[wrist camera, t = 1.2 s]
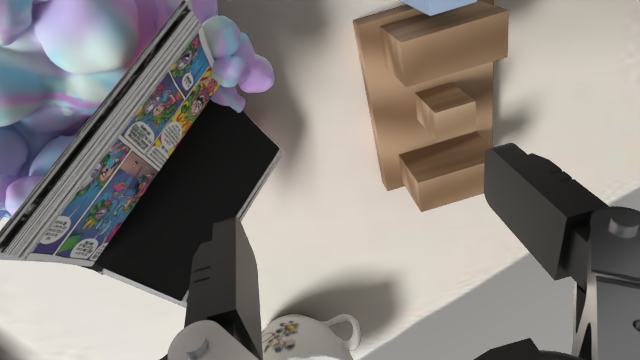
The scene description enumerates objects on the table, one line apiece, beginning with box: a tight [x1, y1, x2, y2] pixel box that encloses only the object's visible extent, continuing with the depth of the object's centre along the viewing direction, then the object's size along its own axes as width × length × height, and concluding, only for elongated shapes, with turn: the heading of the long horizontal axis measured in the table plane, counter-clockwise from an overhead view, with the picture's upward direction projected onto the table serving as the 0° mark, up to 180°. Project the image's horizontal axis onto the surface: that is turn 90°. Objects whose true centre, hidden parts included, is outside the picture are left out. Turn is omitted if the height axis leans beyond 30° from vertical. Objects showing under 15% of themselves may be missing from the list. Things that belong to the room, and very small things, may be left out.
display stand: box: [353, 0, 509, 212], centre depth 32 cm, size 15×10×6 cm, turn 14°
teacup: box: [261, 314, 361, 360], centre depth 44 cm, size 15×12×8 cm
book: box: [0, 0, 285, 308], centre depth 23 cm, size 20×22×18 cm
